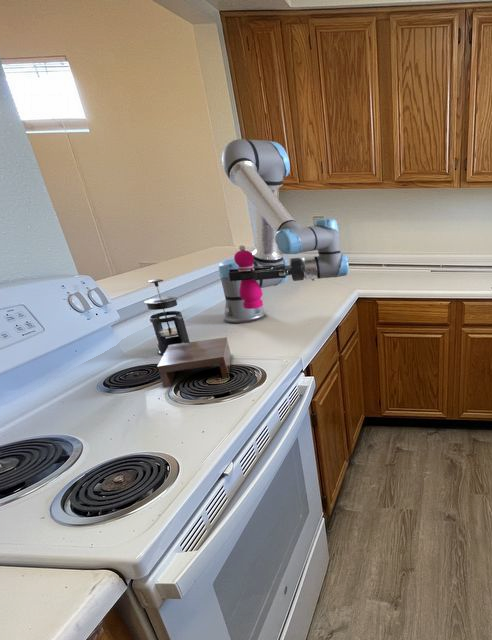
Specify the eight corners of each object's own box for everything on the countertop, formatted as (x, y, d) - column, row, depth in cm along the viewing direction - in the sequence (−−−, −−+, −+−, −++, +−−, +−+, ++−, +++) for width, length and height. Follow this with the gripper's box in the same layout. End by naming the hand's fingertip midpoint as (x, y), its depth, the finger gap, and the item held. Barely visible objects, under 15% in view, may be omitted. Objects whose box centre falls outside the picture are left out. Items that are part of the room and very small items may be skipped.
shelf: (174, 363, 125) (168, 345, 123) (231, 355, 130) (226, 337, 128) (163, 387, 110) (157, 366, 108) (228, 376, 115) (223, 356, 113)
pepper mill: (257, 309, 138) (245, 246, 129) (237, 308, 139) (224, 246, 131) (268, 303, 144) (258, 243, 136) (249, 303, 145) (238, 244, 137)
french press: (151, 353, 134) (128, 282, 125) (176, 343, 142) (156, 276, 133) (177, 357, 130) (156, 284, 121) (201, 347, 138) (183, 277, 129)
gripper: (307, 284, 136) (231, 292, 129) (301, 275, 152) (233, 281, 144) (304, 261, 133) (226, 267, 126) (298, 254, 149) (228, 259, 141)
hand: (229, 275), depth 135 cm, fingers closed on pepper mill, 5 cm apart
